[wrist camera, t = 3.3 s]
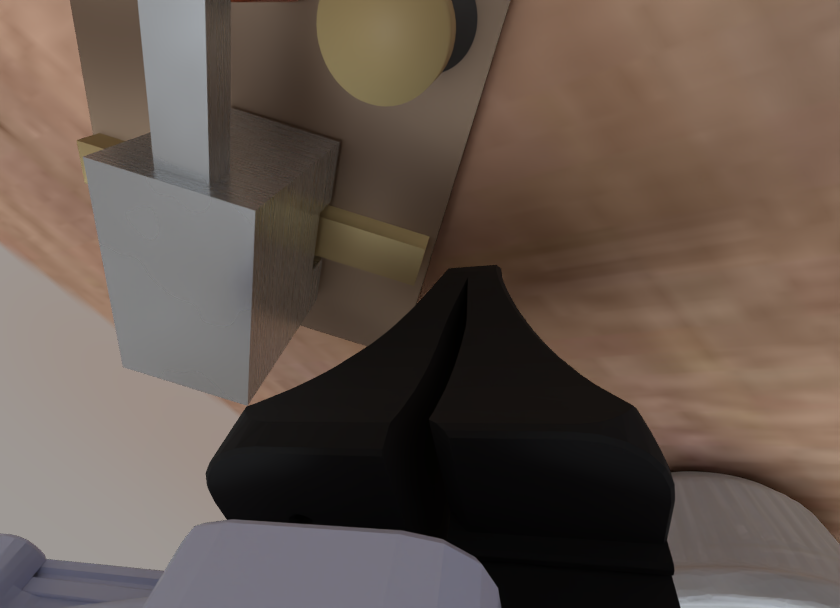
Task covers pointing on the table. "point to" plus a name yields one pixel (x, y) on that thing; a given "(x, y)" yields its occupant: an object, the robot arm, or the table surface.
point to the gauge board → (334, 122)
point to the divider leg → (207, 215)
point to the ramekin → (748, 547)
